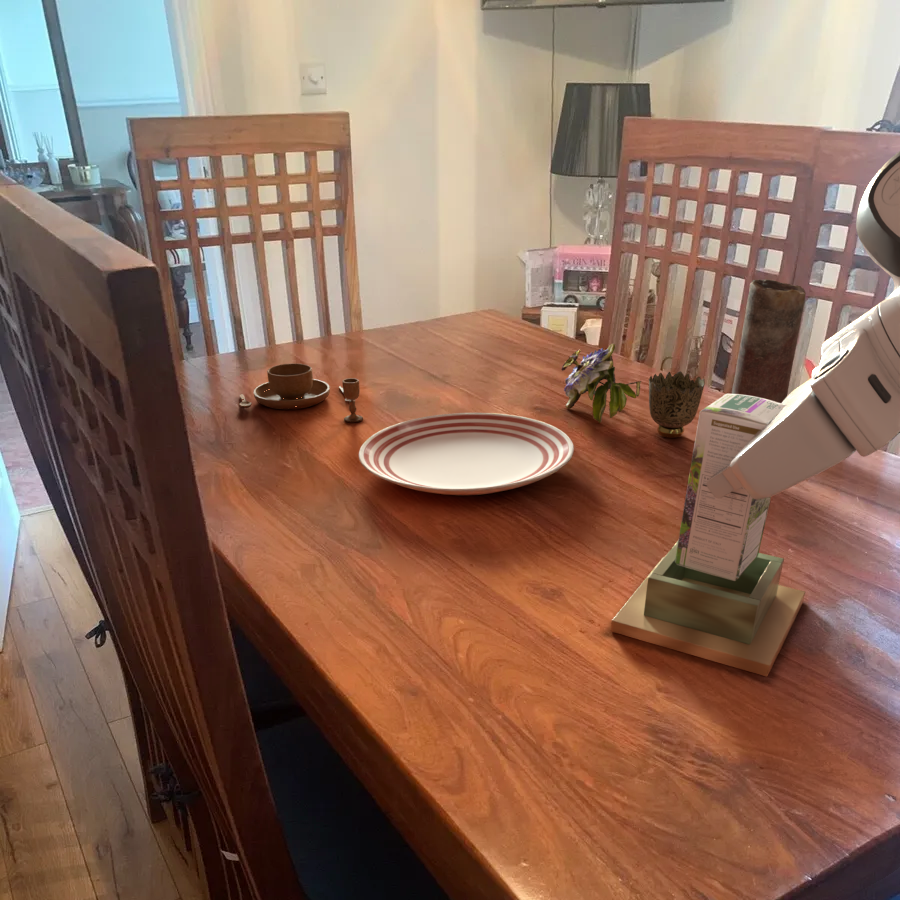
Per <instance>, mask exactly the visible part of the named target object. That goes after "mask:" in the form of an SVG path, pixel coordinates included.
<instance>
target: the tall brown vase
mask: <svg viewBox="0 0 900 900" xmlns="http://www.w3.org/2000/svg"><path fill="white" fill-rule="evenodd" d="M748 290H749V291H748V296H747V301H746V302H747V303H746V308H745V315H744V320H743V325H742V331H741V338H740V344H739V349H738V354H737V355H738V356H737V361H736V367H735V373H734V379H733V385H732V390H731V394H741V395H749V396H755V397H759V398H764V399H768V400H771V401H775V402H778V403H782V402H783V401H784V400H785V398H786V397H787V396H788V395H789V394H788V393H789V388H790V387H789V386H790V382H791V381H790V380H791V376H792V370H793V364H794V359H795V354H796V353H795V352H796V349H797V343H798V337H799V333H800V327H801V322H802V317H803V311H804V306H805V301H806V294H807V292H806V290H805V289H804V287H802V286H801V285H796V284H795V285H794V284H791V283H786V282H781V281H778V280H774V279H768V278H767V279H765V278H764V279H753V280H752V281H751V282H750V284H749V289H748Z"/></svg>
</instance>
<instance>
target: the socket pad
mask: <svg viewBox="0 0 900 900" xmlns="http://www.w3.org/2000/svg"><path fill="white" fill-rule="evenodd" d="M677 547H678V540H677V541H676V543H675V544H674V545H673V546H672V547H671V548H670V550H669V551H668V552H667V553H666V555H664V556H663V557H661V559H660V560H659V562H658V563H657V564H656V565H655V566H654V567H653V569H652V570H651V572H650V573H649V574H648V575H647V576H646V577H645V579H644V580H643V581H642V582H641V584H640V585H639V586H638V588H637V589H636V590H635V591H634V592H633V593H632V595H631V596H630V597H629V599H628V600H627V601H626V602H625V604H624V605H622V607H621V608H620V610H619V611H618V612H617V613H616V615H615V616H614V617H613V618H612V619H611V623H610V632H611V633H615V634H619V635H622V636H626V637H629V638H632V639H635V640H639V641H643V642H646V643H649V644H652V645H656V646H660V647H662V648H667V649H670V650H674V651H677V652H679V653H683V654H687V655H691V656H695V657H698V658H701V659H704V660H708V661H711V662H715V663H718V664H721V665H726V666H729V667H731V668H735V669H739V670H743V671H746V672H748V673H749V672H750V673H753V674H756V675H759V676H763V677H768V676H769V674H770V672H771V670H772V668H773V665H774V664H775V662H776V659H777V657H778V655H779V653H780V651H781V649H782V647H783V646H784V643H785V641H786V638H787V637H788V635H789V633H790V630H791V628H792V626H793V625H794V623H795V620H796V618H797V615H798V614H799V612H800V609H801V607H802V606H803V604H804V600H805V596H806V591H804V590H802V589H798V588H793V587H789V586H784V585H781V584H780V580H781V575H782V571H783V566H784V563H785V558H784V557H779V556H775V555H770V554H766V553H761V552H759V554H758V557H757V558H756V559H755V560H754V561H753V562H752V564H751V565H750V566H749V567H748V568H747V569H746V570H745V571H744V573H743V574H742V575H741V576H740V577H739V578H738V579H737V580H736V581H732V580H729V579H725V578H722V577H718V576H714V575H711V574H707V573H703V572H700V571H697V570H693V569H690V568H686V567H683V566H680V565H677V564H676V563H675V558H676V553H677Z"/></svg>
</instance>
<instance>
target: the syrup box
mask: <svg viewBox="0 0 900 900" xmlns="http://www.w3.org/2000/svg"><path fill="white" fill-rule="evenodd" d="M784 406H785V405H784V404H781V403H778V402H775V401H771V400H768V399H764V398H759V397H755V396H749V395H741V394H732V393H724V395H722V396H721V397H718V398H717V399H716V400H715V401H713V402H712V403H710V404H709V405H707V406H705V407H704V408H702V409H701V410H700V411H699V415H698V420H697V425H696V432H695V438H694V444H693V450H692V457H691V462H690V468H689V475H688V481H687V487H686V493H685V497H684V505H683V510H682V517H681V523H680V529H679V534H678V535H679V536H678V540H677V541H678V547H677V553H676V558H675V563H676V564H677V565H680V566H683V567H686V568H690V569H693V570H697V571H700V572H703V573H707V574H711V575H714V576H718V577H722V578H725V579H729V580H732V581H736V580H737V579H738V578H739V577H740V576H741V575H742V574H743V573H744V571H745V570H746V569H747V568H748V567H749V566H750V565H751V564H752V562H753V561H754V560H755V559H756V558H757V557H758V554H759V553H760V549H761V545H762V540H763V535H764V531H765V526H766V522H767V517H768V512H769V508H770V504H771V498H772V496H771V497H768V498H765V499H759V500H756V499H753V498H752V497H751V496H750V495H749V493H748V492H747V491H746V490H745V488H744V487H742V488H739V489H736V490H734V491H732V492H730V493H729V494H727V495H725V496H724V497H722V498H716V497H714V495H713V494H712V493H711V491H710V490H709V489H708V487H707V482H708V480H709V479H710V478H711V477H712V476H713V475H714V474H715V473H717V472H719V471H720V470H722V469H723V468H725V467H726V466H727V467H728V466H729V465H730V464H731V461H732V460H733V459H734V458H735V457H736V456H737V455H738V454H739V452H740V451H741V450H742V449H743V448H744V446H745V445H746V444H747V443H748V442H749V441H750V439H751V438H752V437H753V436H754V435H755V434H756V433H757V432H758V431H760V430H762V429H763V428H765V427H766V426H768V424H769V423H770V422H771V421H772V420H773V418H774V417H775V416H776V415H777V414H778V413H779V412H780V411H781V410H782V409H783V408H784Z"/></svg>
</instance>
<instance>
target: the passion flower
mask: <svg viewBox="0 0 900 900" xmlns="http://www.w3.org/2000/svg"><path fill="white" fill-rule="evenodd" d="M615 349H616V343H611V344H609V346H608V347H607V349H604V347H601V348H598V349H597V350H596V349H595V350H594V351H591V352H590V353H587V354H586V356H584V355H583V356H582V360H581V361H580V363H579V362H578V358H579V355H580V353H582V349H581V348H579V349H578V350H576V351H574V352H573V353H572V354H571V355H569V357H568V358H567V360H566V361H564V363H563V365H562V367H561V368H560V369H561V370H560V371H561V372H562V371H565V370H566V369H567V368H568V367H570V366H572V365H575V366H574V367H573V369H572V372H571V373H570V374H569V375H568V377H566V378H565V380H564V382H565V386H564V388H563V391H564V394H565V396H566V397H568V401H567V403H566V404H565V406H564V407H565V408H566V409H572V408H573V407H575V405H576V403H577V402H578V401H579V400H580V398H581V396H582V395H584V394H586V393H588V394H587V396H588V398H589V400H590V401H592V416H593V420H595V421H597V422H598V424H601V423H602V417H603V414H604V412H605V410H606V407H607V398H608V397H607V393H608V391H609V402H608V403H609V404H608V406H609V408H608V411H609V419H612V418H613V417H615V416H616V415H617V414H618V413H621V412H622V411H623V410H624V409H625V407H626V405H627V401H628V397H629V398H632V399H637V397H639V396H640V391H641V383H642V380H638V381H633V382H628V383H623V382H616V374H615V370H616V367H615V366H614V358H613V353H614V351H615ZM603 380H606V381H605V383H604V382H602V381H603ZM599 384H601V385H599ZM635 384H636V386H635V388H636V390H635V391H634V390H633V389H632V387H630V385H635ZM598 385H599V386H598Z"/></svg>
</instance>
